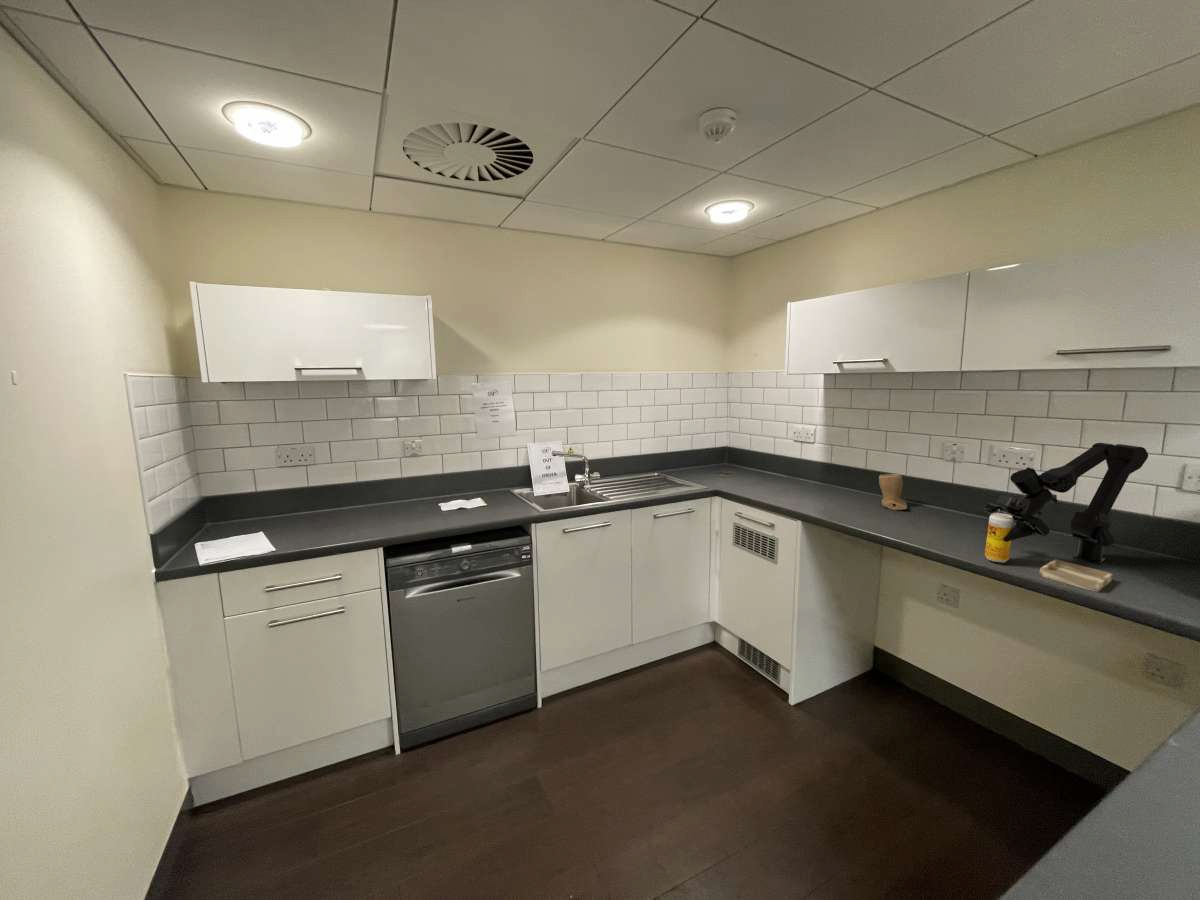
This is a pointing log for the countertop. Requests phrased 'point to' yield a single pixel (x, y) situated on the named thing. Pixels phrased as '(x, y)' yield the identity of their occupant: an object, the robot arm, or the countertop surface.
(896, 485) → the tan boot
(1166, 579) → the countertop surface
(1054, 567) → the holder tray
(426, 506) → the countertop surface
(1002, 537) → the yellow orange canister
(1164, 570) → the countertop surface
